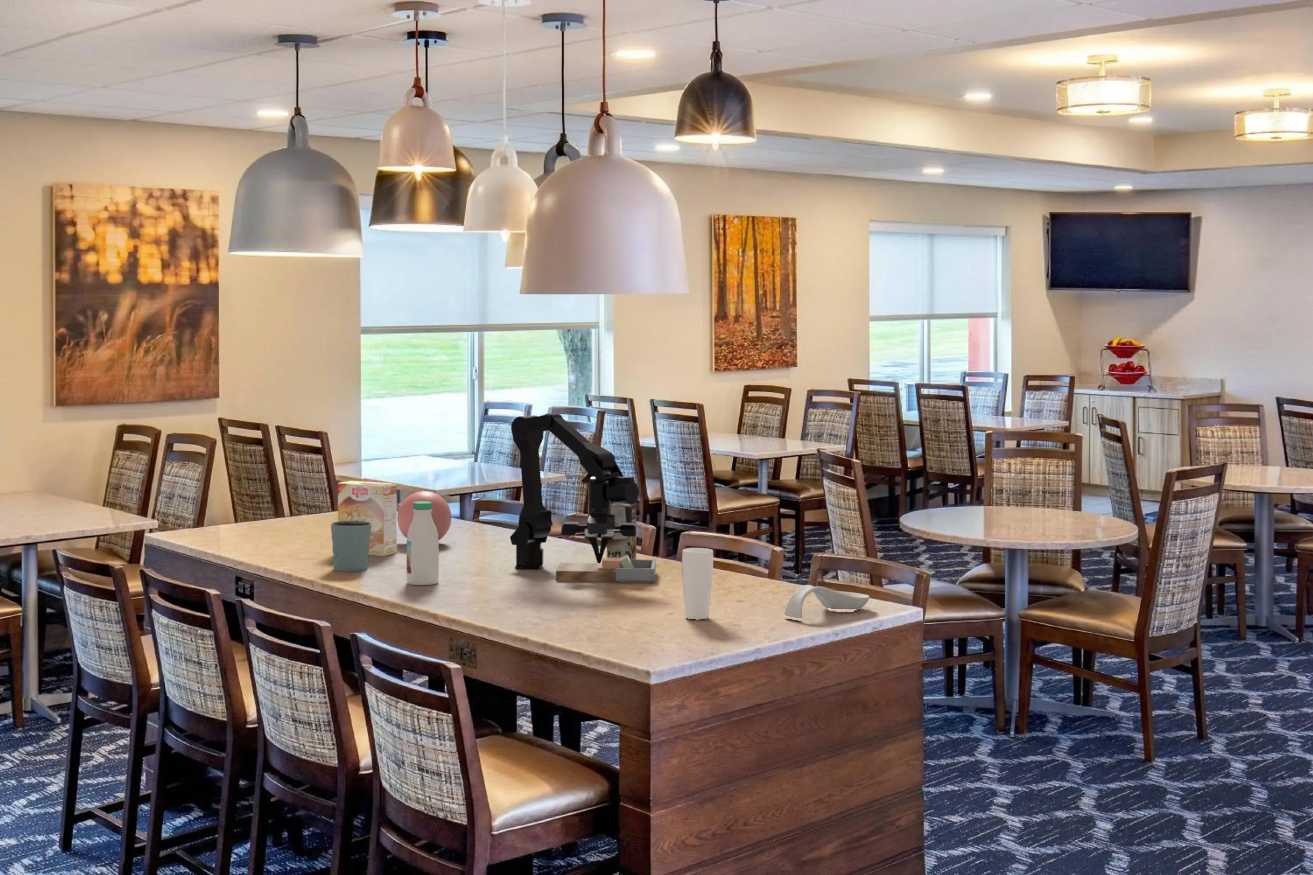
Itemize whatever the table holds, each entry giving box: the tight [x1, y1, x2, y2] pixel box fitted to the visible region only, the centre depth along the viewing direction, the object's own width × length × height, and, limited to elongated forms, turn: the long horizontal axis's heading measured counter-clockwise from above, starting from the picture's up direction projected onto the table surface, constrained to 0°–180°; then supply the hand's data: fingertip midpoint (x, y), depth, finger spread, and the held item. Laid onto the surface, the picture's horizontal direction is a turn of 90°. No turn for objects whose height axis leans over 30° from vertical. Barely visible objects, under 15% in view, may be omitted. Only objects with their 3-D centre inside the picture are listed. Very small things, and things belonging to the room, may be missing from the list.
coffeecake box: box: [337, 480, 398, 557], centre depth 385 cm, size 15×7×20 cm, turn 68°
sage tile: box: [620, 555, 634, 568], centre depth 352 cm, size 4×4×2 cm
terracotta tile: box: [601, 557, 620, 569], centre depth 352 cm, size 4×4×2 cm
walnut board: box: [555, 562, 616, 583], centre depth 352 cm, size 15×12×2 cm
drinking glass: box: [681, 547, 714, 621], centre depth 303 cm, size 7×7×15 cm
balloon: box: [397, 490, 452, 542], centre depth 403 cm, size 15×20×15 cm
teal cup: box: [330, 521, 371, 573], centre depth 359 cm, size 10×10×12 cm
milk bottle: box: [406, 501, 440, 586], centre depth 340 cm, size 8×8×20 cm
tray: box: [615, 558, 657, 584], centre depth 352 cm, size 9×14×4 cm
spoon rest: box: [784, 584, 870, 619], centre depth 310 cm, size 24×12×7 cm, turn 135°
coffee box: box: [606, 502, 638, 559], centre depth 371 cm, size 9×6×16 cm
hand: (599, 562), depth 352 cm, fingers closed
